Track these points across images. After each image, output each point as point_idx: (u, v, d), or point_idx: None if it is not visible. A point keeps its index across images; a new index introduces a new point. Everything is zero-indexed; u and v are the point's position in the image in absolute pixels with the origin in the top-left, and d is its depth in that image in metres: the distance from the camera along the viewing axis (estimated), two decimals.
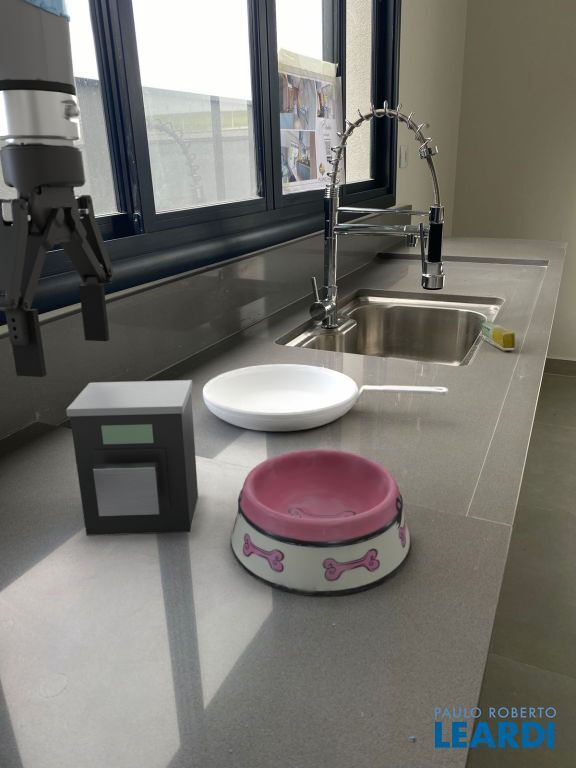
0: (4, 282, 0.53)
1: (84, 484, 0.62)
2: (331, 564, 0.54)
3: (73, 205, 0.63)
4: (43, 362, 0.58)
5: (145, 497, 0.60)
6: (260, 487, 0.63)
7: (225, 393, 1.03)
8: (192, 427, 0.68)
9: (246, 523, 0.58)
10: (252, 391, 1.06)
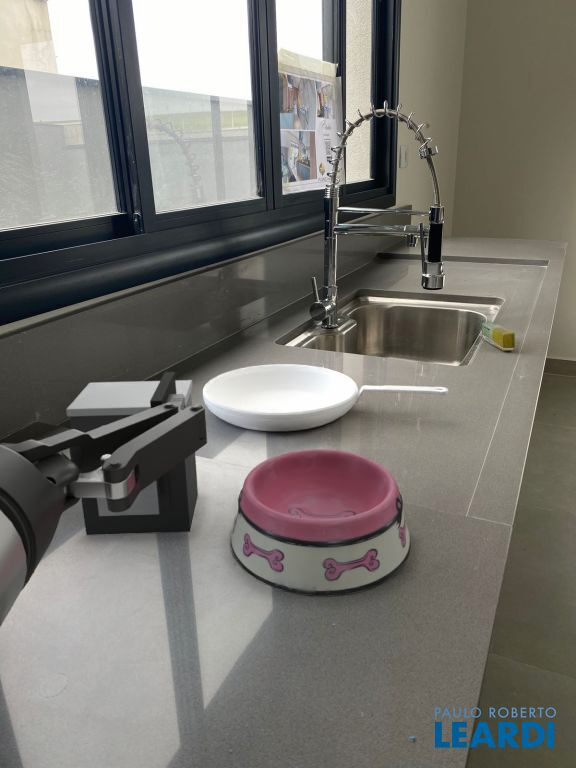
0: None
1: None
2: (331, 564, 0.54)
3: None
4: None
5: (145, 497, 0.60)
6: (260, 487, 0.63)
7: (225, 393, 1.03)
8: None
9: (246, 523, 0.58)
10: (252, 391, 1.06)
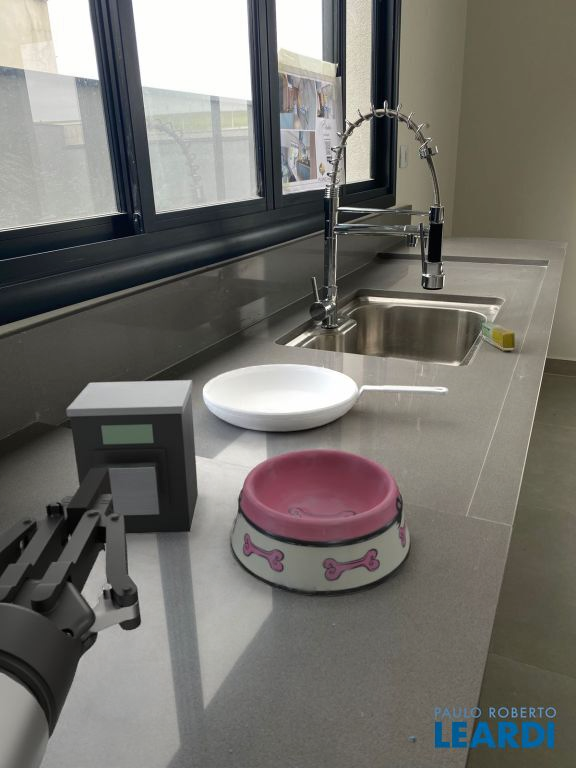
0: None
1: None
2: (331, 564, 0.54)
3: None
4: None
5: (145, 497, 0.60)
6: (260, 487, 0.63)
7: (225, 393, 1.03)
8: (192, 427, 0.68)
9: (246, 522, 0.58)
10: (252, 391, 1.06)
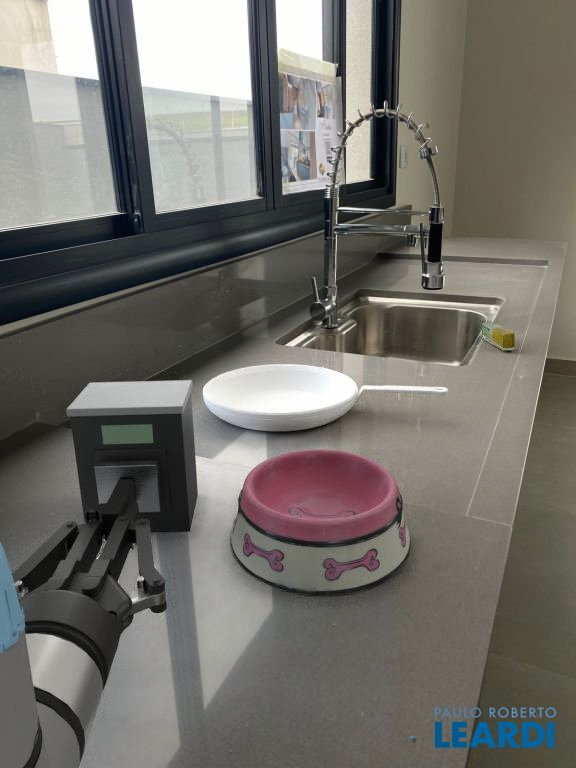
0: None
1: (84, 484, 0.62)
2: (331, 564, 0.54)
3: None
4: None
5: (146, 495, 0.60)
6: (260, 487, 0.63)
7: (225, 393, 1.03)
8: (192, 427, 0.68)
9: (246, 522, 0.58)
10: (252, 391, 1.06)
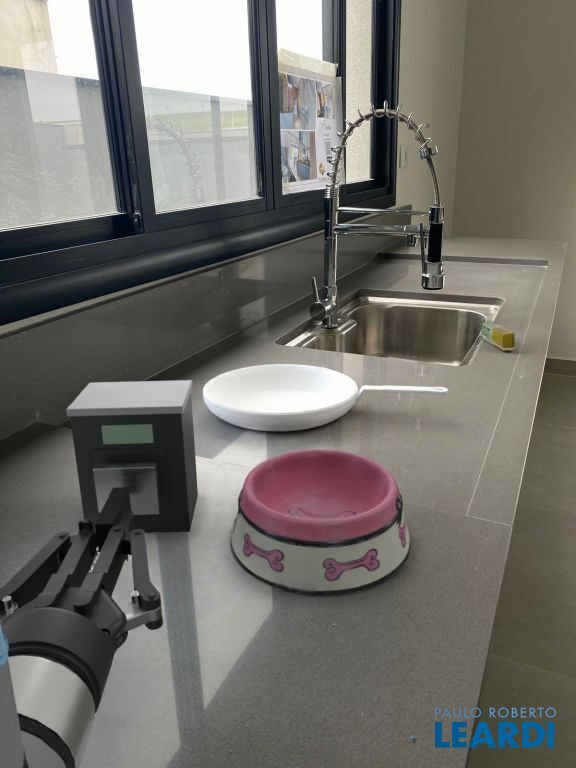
0: None
1: (84, 484, 0.62)
2: (331, 564, 0.54)
3: None
4: None
5: (145, 497, 0.60)
6: (260, 487, 0.63)
7: (225, 393, 1.03)
8: (192, 427, 0.68)
9: (246, 523, 0.58)
10: (252, 391, 1.06)
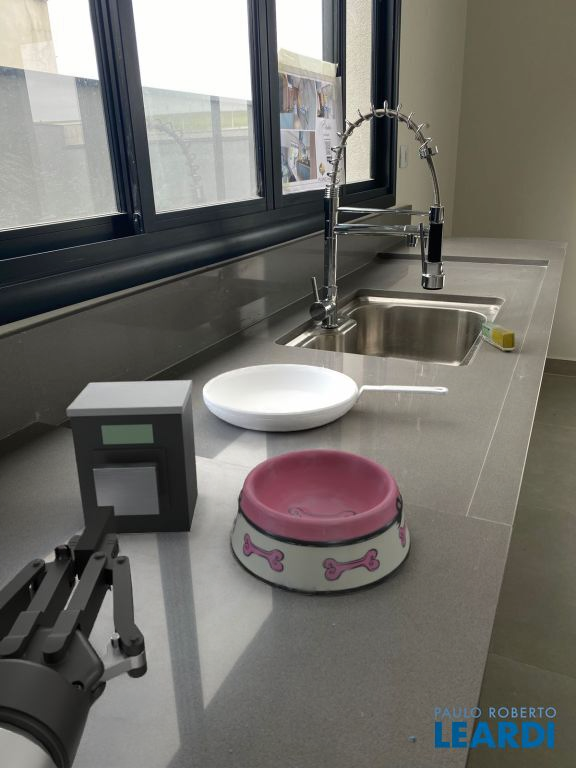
0: None
1: (84, 484, 0.62)
2: (331, 564, 0.54)
3: None
4: None
5: (145, 497, 0.60)
6: (260, 487, 0.63)
7: (225, 393, 1.03)
8: (192, 427, 0.68)
9: (246, 522, 0.58)
10: (252, 391, 1.06)
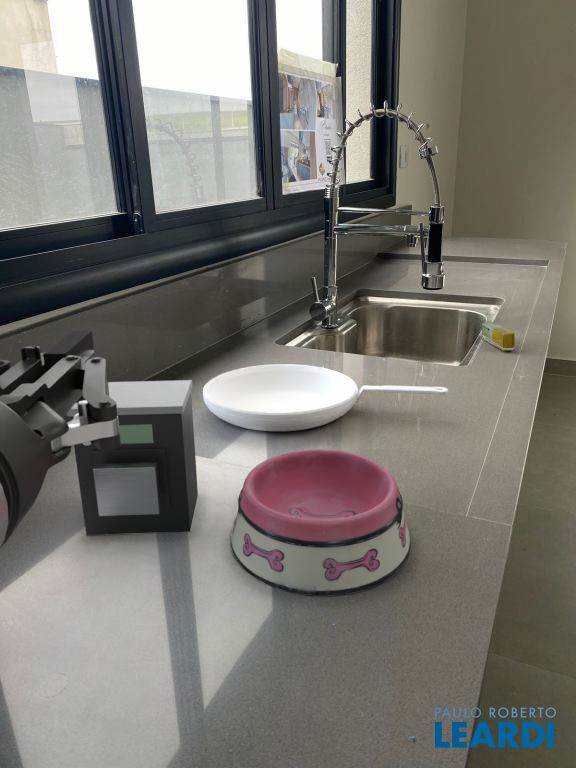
0: None
1: (84, 484, 0.62)
2: (331, 564, 0.54)
3: None
4: None
5: (145, 497, 0.60)
6: (260, 487, 0.63)
7: (225, 393, 1.03)
8: (192, 427, 0.68)
9: (246, 523, 0.58)
10: (252, 391, 1.06)
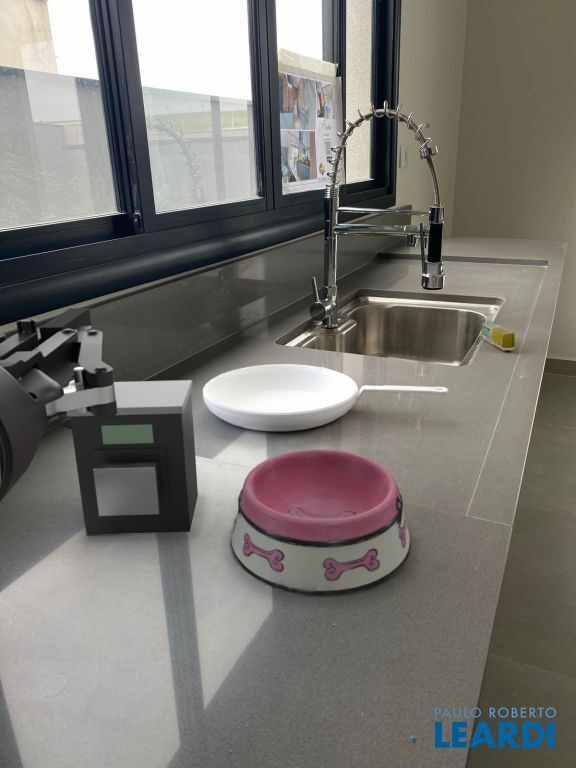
0: None
1: (84, 484, 0.62)
2: (331, 564, 0.54)
3: None
4: None
5: (145, 497, 0.60)
6: (260, 487, 0.63)
7: (225, 393, 1.03)
8: (192, 427, 0.68)
9: (246, 522, 0.58)
10: (252, 391, 1.06)
